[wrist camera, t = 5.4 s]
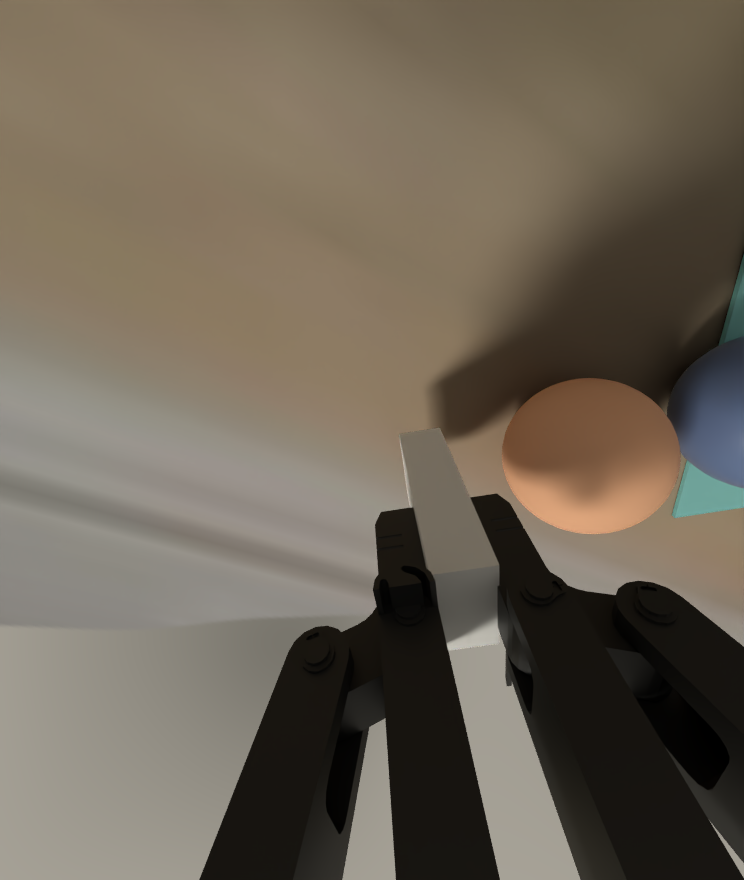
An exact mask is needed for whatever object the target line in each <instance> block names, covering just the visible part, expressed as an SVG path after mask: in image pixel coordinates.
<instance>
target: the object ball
mask: <svg viewBox="0 0 744 880" xmlns="http://www.w3.org/2000/svg"><path fill="white" fill-rule="evenodd" d="M667 417H668V419H669V420H670V421H671V423H672V425H673V427H674V429H675V432H676V434H677V437H678V441H679V445H680V452H681V453H682V455H683V456H684V457H685V458H686V459H687V460H688V461H689V462H690V463H691V464H692V465H694V466H695V467H696V468H698V469H699V470H700V471H702V472H703V473H705V474H707V475H709V476H710V477H712V478H714V479H717V480H719V481H722V482H724V483H727V484H729V485H733V486H736V487H740V488H744V336H742V337H739V338H736V339H733V340H731V341H728V342H726V343H723V344H721V345H719V346H717V347H716V348H714V349H712V350H710V351H708V352H707V353H706V354H704V355H703V356H701V357H700V358H698V359H697V360H696V361H695V362H693V363H692V364H691V365H690V366H689V367H688V368H687V370H686V371H685V372H684V373H683V374H682V375H681V377H680V378H679V379H678V381H677V382H676V384H675V386H674V388H673V390H672V392H671V395H670V398H669V402H668V407H667Z"/></svg>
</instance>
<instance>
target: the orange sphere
mask: <svg viewBox="0 0 744 880" xmlns="http://www.w3.org/2000/svg"><path fill="white" fill-rule="evenodd" d="M502 461H503V468H504V472H505V475H506V479H507V481H508V483H509V485H510V487H511V489H512V491H513V493H514V494H515V496H516V497H517V499H518V500H519V501H520V502H521V503H522V504H523V505H524V506H525V508H526V509H528V510H529V511H530V512H531V513H533V514H534V515H535V516H536V517H538V518H539V519H541V520H543V521H544V522H546V523H548V524H551V525H553V526H555V527H557V528H560V529H563V530H567V531H571V532H576V533H583V534H603V533H611V532H615V531H619V530H623V529H626V528H629V527H631V526H634V525H636V524H638V523H640V522H641V521H643V520H645V519H646V518H648V517H649V516H650V515H652V514H653V513H654V512H655V511H656V510H657V509H658V508H659V507H660V506H661V505H662V504H663V503H664V502H665V501H666V499H667V498H668V497H669V495H670V493H671V491H672V489H673V488H674V486H675V484H676V481H677V478H678V474H679V468H680V462H681V457H680V445H679V441H678V437H677V434H676V432H675V429H674V427H673V425H672V423H671V421H670V420H669V419H668V417H667V416H666V414H665V413H664V412H663V410H662V409H661V408H660V407H659V406H658V405H657V404H656V403H655V402H654V401H653V400H651V399H650V398H649V397H647V396H646V395H645V394H643V393H642V392H640V391H638V390H636V389H634V388H632V387H630V386H628V385H625V384H622V383H619V382H616V381H611V380H605V379H598V378H580V379H574V380H568V381H564V382H560V383H557V384H555V385H552V386H550V387H548V388H546V389H544V390H542V391H540V392H539V393H537V394H535V395H534V396H532V397H531V398H530V399H529V400H528V401H526V402H525V403H524V404H523V405H522V406H521V407H520V408H519V410H518V411H517V412H516V414H515V415H514V417H513V418H512V420H511V422H510V424H509V426H508V428H507V430H506V433H505V437H504V442H503V446H502Z"/></svg>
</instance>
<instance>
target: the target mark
mask: <svg viewBox="0 0 744 880" xmlns="http://www.w3.org/2000/svg"><path fill="white" fill-rule="evenodd" d="M742 336H744V255H743V259H742V262H741V266H740V270H739V273H738V277H737V280H736V284H735V288H734V291H733V295H732V299H731V302H730V306H729V310H728V313H727V317H726V320H725V324H724V328H723V331H722V335H721V339H720V342H719V345H721V344H723V343H726V342H728V341H731V340H733V339H736V338H739V337H742ZM737 508H744V488H740V487H736V486H733V485H729V484H727V483H724V482H722V481H719V480H717V479H714V478H712V477H710V476H709V475H707V474H705V473H703V472H702V471H700V470H699V469H698V468H696V467H695V466H694V465H692V464H691V463H690V462H689V461H688V460H687V462H686V466H685V470H684V473H683V477H682V481H681V484H680V488H679V491H678V495H677V499H676V502H675V506H674V510H673V513H672V516H673V517H674V518H678V517H684V516H691V515H697V514H704V513H711V512H717V511H724V510H730V509H737Z"/></svg>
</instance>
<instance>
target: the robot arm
mask: <svg viewBox="0 0 744 880" xmlns="http://www.w3.org/2000/svg"><path fill="white" fill-rule="evenodd" d="M399 438H400V445H401V452H402V459H403V466H404V473H405V480H406V487H407V494H408V499H409V504H410V508H405V509H398V510H392V511H385V512H381V513H380V515H379V517H378V520H377V522H376V524H375V530H376V544H377V559H378V573H379V574H378V576H377V577H376V579H375V581H374V587H373V592H374V596H375V601H376V605H377V607H376V608H375V610H374V611H373V613H372V614H371V615H370V616H369V617H368V618H367V619H366V620H365V621H363V622H361V623H360V624H358V625H356V626H354V627H352V628H350V629H348V630H345V631H343V632H340V631H339V630H338V629H336V628H333V627H329V626H321V627H315V628H313V629H311V630H308V631H306V632H304V633H303V634H302V635H301V636H300V637H299V638H298V639H297V640H296V641H295V642H294V644H293V645H292V647H291V649H290V650H289V652H288V655H287V657H286V660H285V662H284V665H283V667H282V670H281V672H280V675H279V678H278V680H277V683H276V685H275V688H274V690H273V693H272V695H271V698H270V701H269V704H268V706H267V709H266V711H265V713H264V716H263V719H262V721H261V724H260V726H259V729H258V731H257V734H256V736H255V739H254V742H253V744H252V747H251V749H250V752H249V754H248V757H247V759H246V762H245V765H244V767H243V770H242V772H241V775H240V777H239V780H238V782H237V785H236V788H235V790H234V793H233V795H232V798H231V800H230V803H229V805H228V809H227V811H226V813H225V816H224V818H223V821H222V823H221V826H220V828H219V831H218V834H217V836H216V839H215V841H214V844H213V846H212V849H211V851H210V854H209V857H208V859H207V862H206V864H205V867H204V870H203V872H202V875H201V877H200V880H342V878H343V872H344V866H345V861H346V855H347V849H348V843H349V838H350V832H351V826H352V821H353V816H354V810H355V804H356V799H357V792H358V787H359V782H360V776H361V770H362V765H363V759H364V753H365V748H366V742H367V737H368V731H369V727H370V726H371V725H374V724H375V723H377V722H379V721H381V720H383V719H384V718H386V733H387V749H388V764H389V779H390V795H391V810H392V825H393V841H394V856H395V871H396V880H500V878H499V874H498V869H497V865H496V860H495V856H494V851H493V847H492V843H491V838H490V834H489V829H488V825H487V820H486V816H485V811H484V807H483V803H482V798H481V794H480V789H479V785H478V780H477V776H476V772H475V767H474V763H473V759H472V754H471V749H470V745H469V741H468V737H467V732H466V727H465V723H464V719H463V714H462V710H461V705H460V701H459V696H458V692H457V687H456V684H455V679H454V674H453V670H452V665H451V661H450V656H449V652H448V650H456V649H463V648H471V647H478V646H486V645H492V644H499V632H500V635H501V637H502V640H503V643H504V646H505V648H506V683H507V686H511V685H512V683H513V685H514V688H515V692H516V694H517V697H518V700H519V703H520V706H521V709H522V711H523V715H524V717H525V720H526V723H527V726H528V729H529V732H530V735H531V738H532V741H533V743H534V746H535V749H536V752H537V755H538V758H539V760H540V764H541V766H542V769H543V772H544V775H545V778H546V781H547V784H548V787H549V789H550V792H551V795H552V798H553V801H554V804H555V807H556V810H557V813H558V816H559V818H560V821H561V824H562V827H563V830H564V833H565V836H566V838H567V842H568V844H569V847H570V850H571V853H572V856H573V859H574V862H575V865H576V867H577V870H578V873H579V876H580V879H581V880H744V878H743V876H742V875H741V873H740V871H739V870H738V868H737V866H736V865H735V863H734V861H733V859H732V858H731V856H730V855H729V853H728V851H727V850H726V848H725V846H724V844H723V843H722V841H721V840H720V838H719V837H718V834H717V833H716V831H715V830H714V828H713V826H712V825H711V823H712V824H713V825H714V826H715V828H716V829H717V830H718V831H719V833H720V834H721V835H722V836H723V838H724V839H725V840H726V841H727V843H728V844H729V845H730V846H731V848H732V849H733V850H734V851H735V853H736V854H737V855H738V856H739V858H740V859H741V860H742V861H743V862H744V647H743V646H742V645H741V644H740V643H738V642H737V641H736V640H735V639H733V638H732V637H731V636H730V635H728V634H727V633H726V632H725V631H723V630H722V629H721V628H720V627H718V626H717V625H716V624H715V623H714V622H712V621H711V620H710V619H709V618H707V617H706V616H705V615H704V614H702V613H701V612H700V611H699V610H697V609H696V608H695V607H694V606H692V605H691V604H690V603H689V602H687V601H686V600H685V599H684V598H682V597H681V596H680V595H678V594H676V593H675V592H673V591H672V590H670V589H668V588H666V587H663V586H661V585H658V584H655V583H652V582H644V581H635V582H629V583H626V584H624V585H623V586H621V587H620V588H618V591H617V594H616V595H610V594H602V593H594V592H587V591H583V590H578V589H575V588H573V587H570V586H568V585H567V584H566V583H565V582H564V581H563V580H562V579H561V578H559V577H557V576H556V575H554V574H553V573H551V572H550V571H549V570H548V569H547V567H546V566H545V564H544V562H543V560H542V559H541V557H540V555H539V553H538V552H537V550H536V548H535V546H534V545H533V543H532V541H531V539H530V538H529V536H528V534H527V532H526V531H525V529H523V525H522V524H521V522H520V520H519V518H517V515H516V513H515V511H514V510H513V508H512V506H511V504H510V503H509V502H507V501H506V500H505V499H503V498H502V497H501V496H499V495H498V494H491V495H484V496H478V497H471V498H470V496H469V494H468V492H467V489H466V487H465V485H464V482H463V480H462V478H461V475H460V473H459V471H458V468H457V466H456V464H455V462H454V459H453V457H452V455H451V452H450V450H449V448H448V445H447V443H446V441H445V439H444V436H443V434H442V432H441V429H440V428H434V429H427V430H421V431H415V432H408V433H402V434H399ZM709 820H710V821H709ZM710 822H711V823H710Z"/></svg>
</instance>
